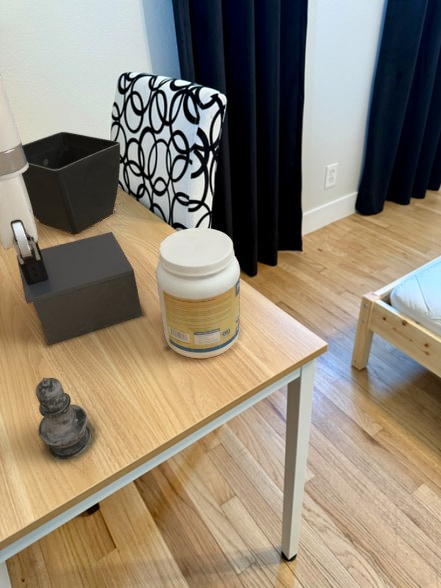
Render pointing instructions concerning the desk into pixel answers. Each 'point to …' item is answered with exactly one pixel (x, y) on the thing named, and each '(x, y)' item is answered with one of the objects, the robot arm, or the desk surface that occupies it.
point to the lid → (78, 266)
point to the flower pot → (72, 179)
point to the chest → (88, 309)
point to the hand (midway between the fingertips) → (35, 270)
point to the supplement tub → (199, 292)
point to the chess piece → (61, 421)
